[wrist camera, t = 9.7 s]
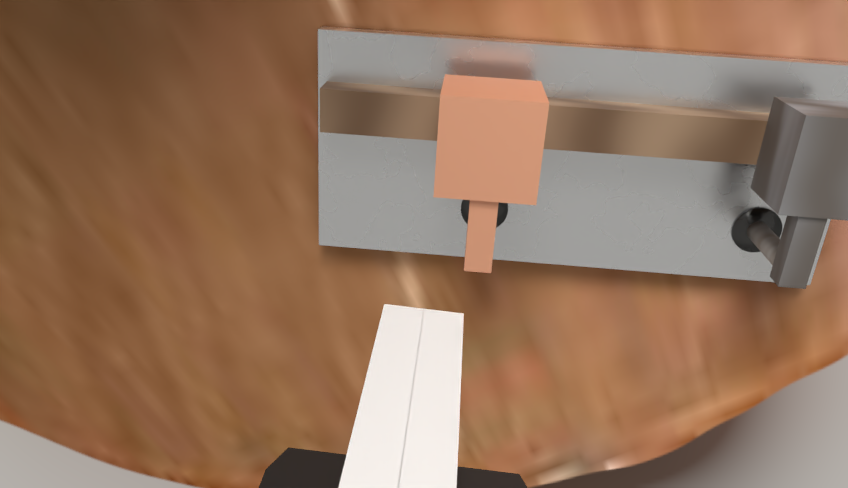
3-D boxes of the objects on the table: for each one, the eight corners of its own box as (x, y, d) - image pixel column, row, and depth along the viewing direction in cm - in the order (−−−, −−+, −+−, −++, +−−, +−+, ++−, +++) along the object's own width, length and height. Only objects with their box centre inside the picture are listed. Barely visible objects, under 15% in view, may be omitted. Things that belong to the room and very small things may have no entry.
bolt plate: (322, 237, 46) (318, 246, 44) (322, 26, 40) (317, 29, 39) (801, 276, 44) (811, 286, 43) (867, 63, 39) (879, 68, 38)
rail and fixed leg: (326, 208, 43) (304, 249, 38) (326, 57, 40) (302, 79, 34) (813, 246, 42) (862, 294, 37) (860, 95, 38) (923, 123, 33)
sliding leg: (436, 219, 43) (428, 270, 36) (446, 67, 39) (440, 95, 33) (519, 226, 43) (526, 278, 36) (538, 74, 39) (549, 103, 33)
